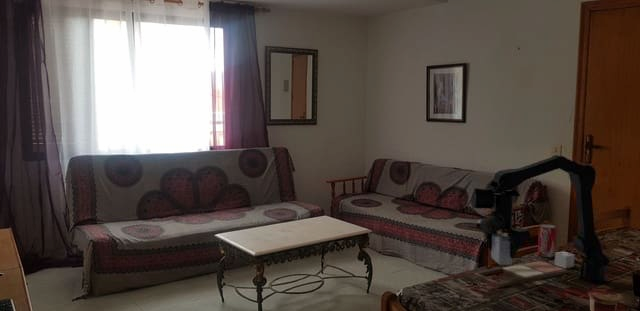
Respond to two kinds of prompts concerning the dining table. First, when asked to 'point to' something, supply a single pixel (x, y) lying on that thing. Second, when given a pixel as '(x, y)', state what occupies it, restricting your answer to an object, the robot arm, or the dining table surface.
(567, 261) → the die
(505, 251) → the medicine box
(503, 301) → the dining table surface
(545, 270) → the board
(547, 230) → the beverage can
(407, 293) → the dining table surface
